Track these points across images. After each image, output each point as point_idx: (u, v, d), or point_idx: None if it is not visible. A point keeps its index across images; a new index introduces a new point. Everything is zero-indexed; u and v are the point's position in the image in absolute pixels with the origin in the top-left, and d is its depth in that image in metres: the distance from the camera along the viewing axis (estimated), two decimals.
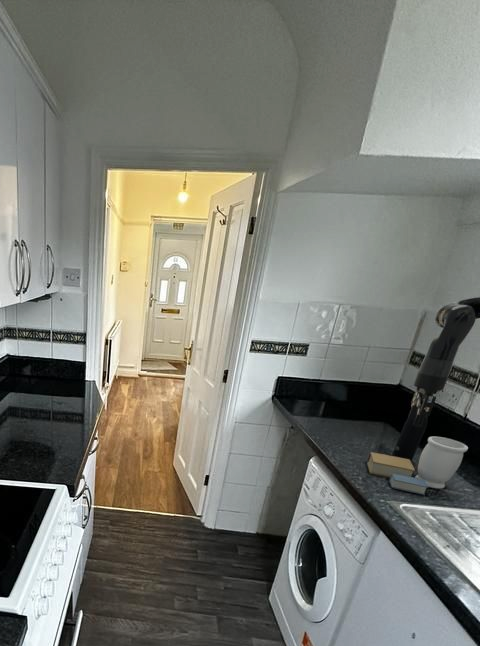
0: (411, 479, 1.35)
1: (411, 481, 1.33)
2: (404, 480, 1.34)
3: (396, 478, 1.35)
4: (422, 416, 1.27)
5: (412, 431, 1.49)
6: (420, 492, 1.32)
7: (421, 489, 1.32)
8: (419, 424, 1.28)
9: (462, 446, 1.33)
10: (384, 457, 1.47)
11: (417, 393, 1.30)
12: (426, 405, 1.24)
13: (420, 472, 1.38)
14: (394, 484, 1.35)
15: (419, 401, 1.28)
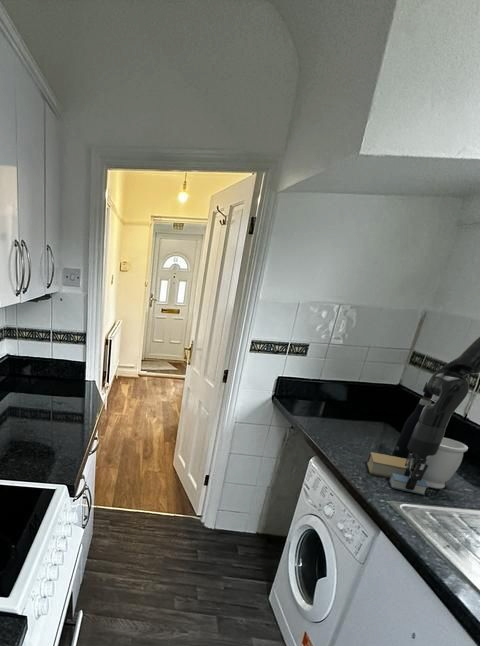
0: None
1: None
2: (404, 480, 1.34)
3: (396, 478, 1.35)
4: (414, 480, 1.30)
5: (412, 431, 1.49)
6: (420, 492, 1.32)
7: (421, 489, 1.32)
8: (411, 487, 1.31)
9: (462, 446, 1.33)
10: (384, 457, 1.47)
11: (411, 455, 1.33)
12: (418, 472, 1.27)
13: None
14: (394, 484, 1.35)
15: (412, 465, 1.31)
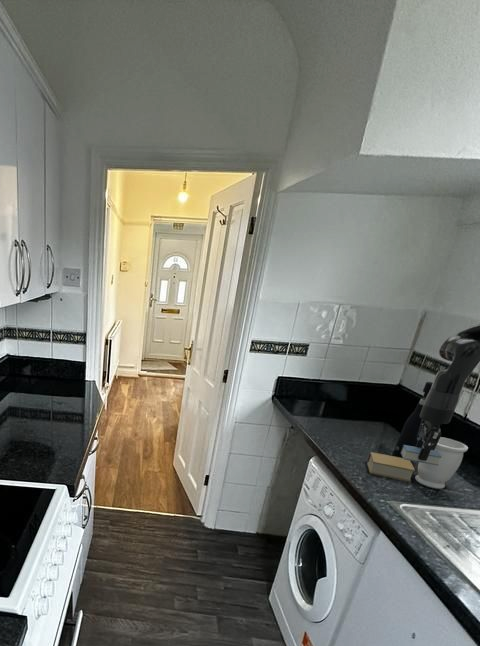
0: None
1: None
2: (416, 451, 1.29)
3: (408, 449, 1.31)
4: (427, 450, 1.26)
5: (412, 431, 1.49)
6: (433, 463, 1.28)
7: (434, 459, 1.27)
8: (424, 458, 1.27)
9: (462, 446, 1.33)
10: (384, 457, 1.47)
11: (423, 424, 1.28)
12: (431, 441, 1.23)
13: (420, 472, 1.38)
14: (406, 455, 1.30)
15: (424, 434, 1.26)
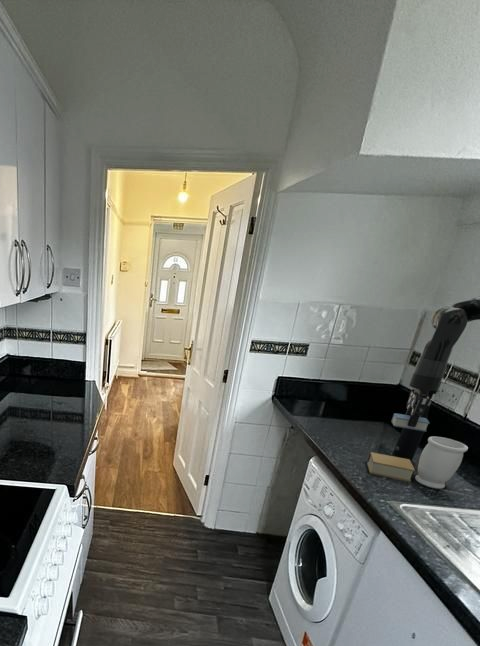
0: None
1: None
2: (406, 418, 1.36)
3: (398, 416, 1.37)
4: (416, 416, 1.32)
5: (412, 431, 1.49)
6: (422, 429, 1.34)
7: (422, 425, 1.33)
8: (413, 424, 1.33)
9: (462, 446, 1.33)
10: (384, 457, 1.47)
11: (413, 392, 1.34)
12: (420, 407, 1.29)
13: (420, 472, 1.38)
14: (396, 422, 1.36)
15: (414, 401, 1.32)
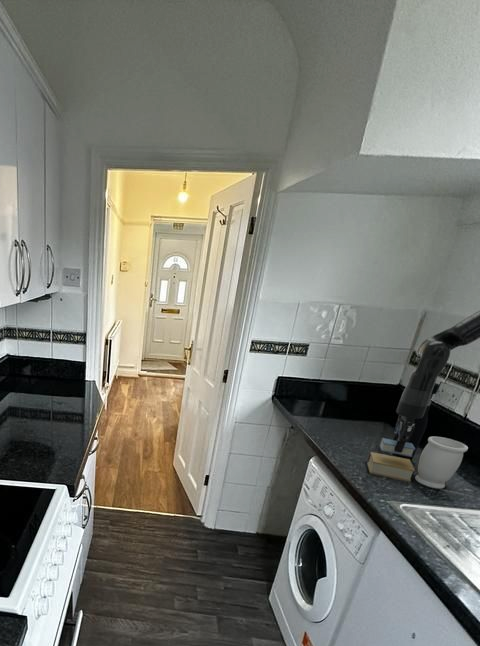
0: None
1: None
2: (393, 443, 1.41)
3: (385, 442, 1.42)
4: (402, 442, 1.38)
5: None
6: (408, 454, 1.39)
7: (408, 451, 1.39)
8: (399, 450, 1.39)
9: (462, 446, 1.33)
10: (384, 457, 1.47)
11: (399, 419, 1.40)
12: (405, 434, 1.35)
13: (420, 472, 1.38)
14: (383, 447, 1.42)
15: (400, 428, 1.38)
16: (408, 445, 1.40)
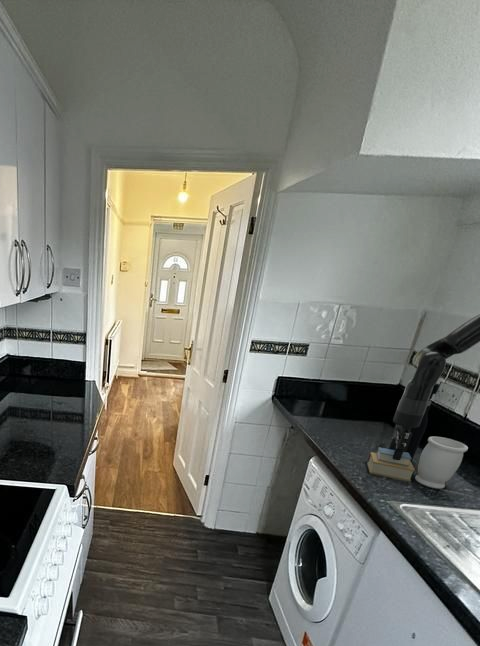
0: None
1: None
2: (389, 453, 1.43)
3: (382, 451, 1.44)
4: (400, 450, 1.38)
5: (412, 431, 1.49)
6: (404, 464, 1.41)
7: (405, 460, 1.40)
8: (397, 457, 1.39)
9: (462, 446, 1.33)
10: None
11: (396, 428, 1.41)
12: (403, 441, 1.35)
13: (420, 472, 1.38)
14: (380, 457, 1.43)
15: (397, 436, 1.39)
16: (404, 454, 1.42)
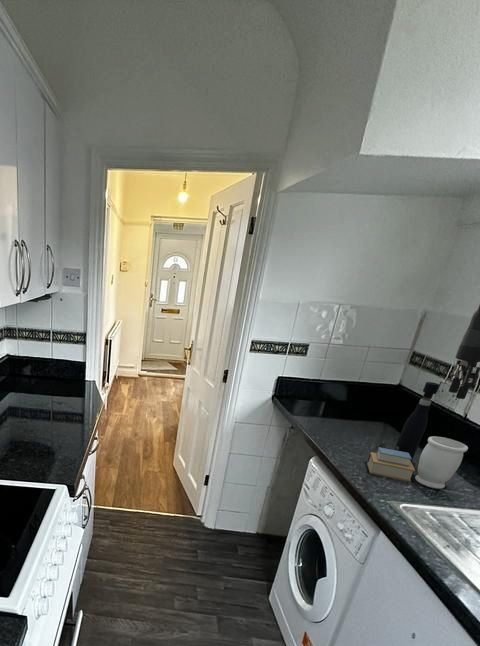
0: (396, 452, 1.44)
1: (396, 454, 1.42)
2: (389, 453, 1.43)
3: (382, 451, 1.44)
4: (465, 388, 1.28)
5: (412, 431, 1.49)
6: (404, 464, 1.41)
7: (405, 460, 1.40)
8: (462, 396, 1.29)
9: (462, 446, 1.33)
10: None
11: (459, 366, 1.32)
12: (470, 376, 1.25)
13: (420, 472, 1.38)
14: (380, 457, 1.43)
15: (462, 373, 1.29)
16: (404, 454, 1.42)
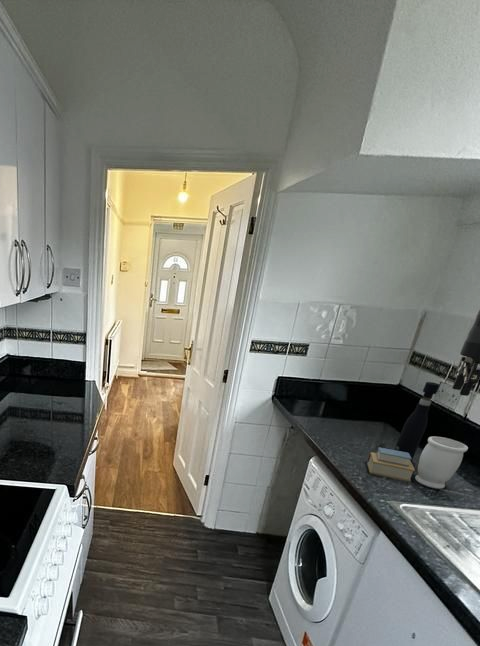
0: (396, 452, 1.44)
1: (396, 454, 1.42)
2: (389, 453, 1.43)
3: (382, 451, 1.44)
4: (469, 384, 1.28)
5: (412, 431, 1.49)
6: (404, 464, 1.41)
7: (405, 460, 1.40)
8: (466, 392, 1.29)
9: (462, 446, 1.33)
10: None
11: (463, 362, 1.31)
12: (474, 373, 1.25)
13: (420, 472, 1.38)
14: (380, 457, 1.43)
15: (466, 370, 1.29)
16: (404, 454, 1.42)
